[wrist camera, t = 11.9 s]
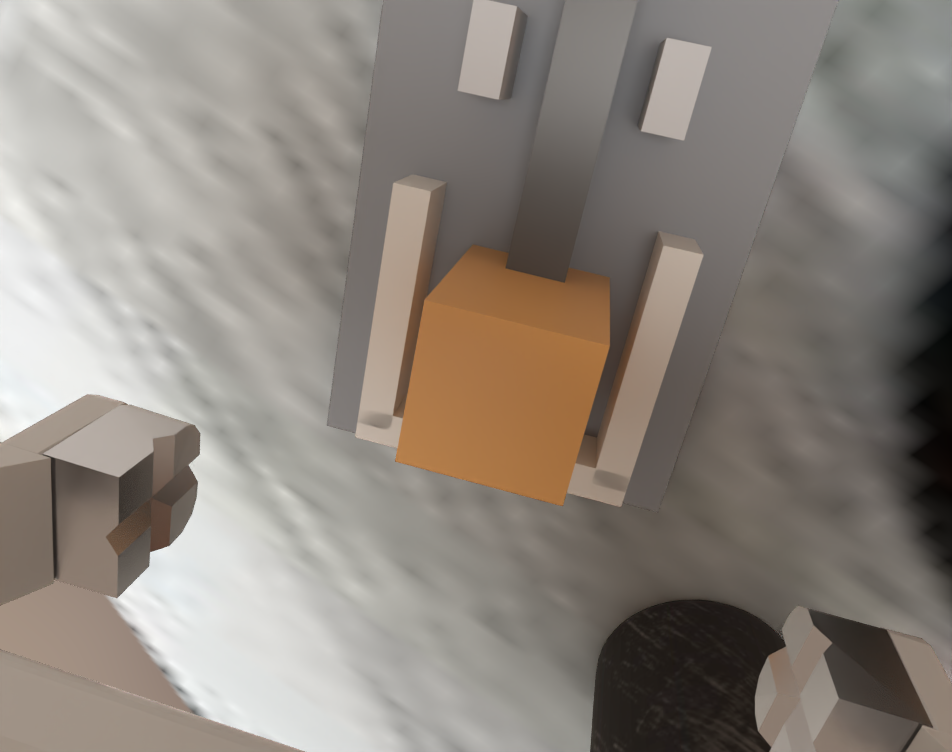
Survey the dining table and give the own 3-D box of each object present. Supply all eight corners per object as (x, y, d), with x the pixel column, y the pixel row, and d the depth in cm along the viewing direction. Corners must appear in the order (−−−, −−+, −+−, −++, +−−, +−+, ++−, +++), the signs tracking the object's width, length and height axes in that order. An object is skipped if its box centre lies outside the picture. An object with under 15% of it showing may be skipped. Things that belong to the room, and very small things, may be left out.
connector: (574, 402, 22) (563, 506, 17) (447, 370, 23) (394, 461, 17) (774, -304, 16) (864, -517, 10) (590, -335, 16) (580, -560, 10)
